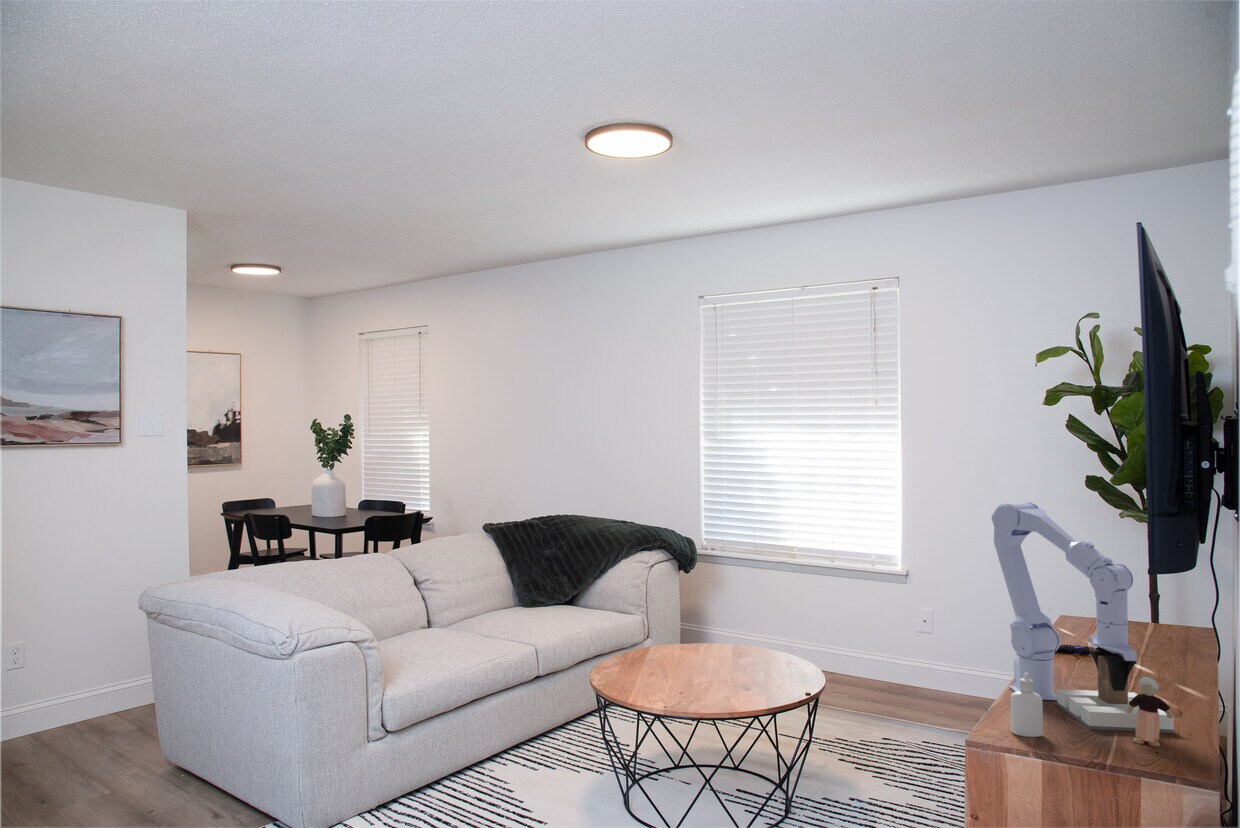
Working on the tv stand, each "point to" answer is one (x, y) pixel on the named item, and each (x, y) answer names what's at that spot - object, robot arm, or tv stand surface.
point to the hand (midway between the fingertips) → (1112, 687)
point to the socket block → (1105, 711)
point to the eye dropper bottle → (1026, 710)
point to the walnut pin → (1109, 685)
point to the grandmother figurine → (1148, 712)
